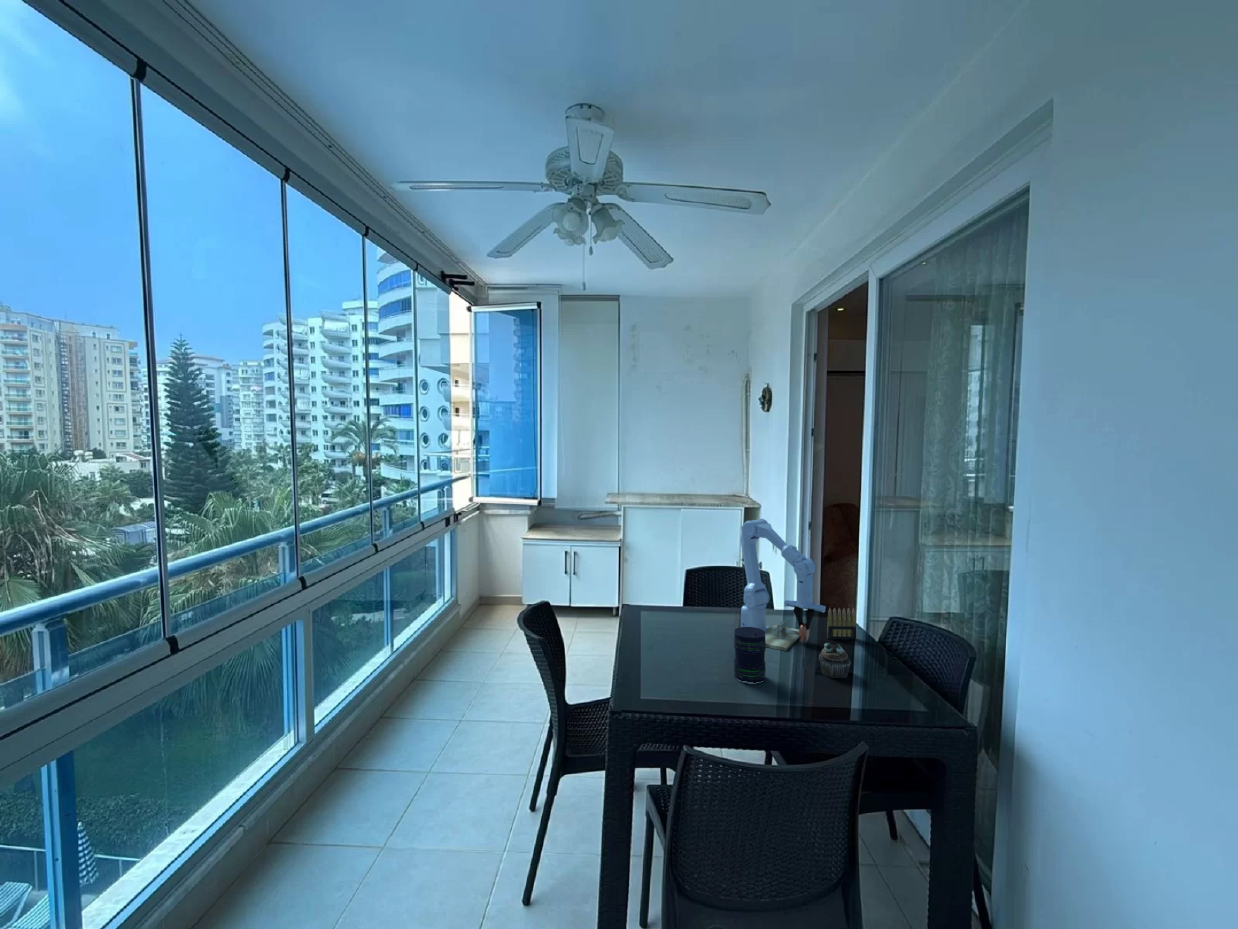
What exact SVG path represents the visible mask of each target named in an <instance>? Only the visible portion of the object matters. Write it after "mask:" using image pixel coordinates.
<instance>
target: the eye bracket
mask: <svg viewBox="0 0 1238 929" xmlns="http://www.w3.org/2000/svg"><path fill="white" fill-rule="evenodd" d="M775 627H777V631H775ZM783 629H788V630H794V631H799V628H798V629H797V628H792V627H787V621H786V620H781V621H779V623H778V624H772V625H771V626H769V628H768V629H767V630H766V631H765V633H766V634H765V640H766V645H765V647H766V648H769V649H774V650H779V651H784V652H787V651H788V650H789V649H790V648H791V646H792V645H793V644H794V643H796V641H797V640H798V639H799V635H794V634H789V633H784V632H783Z"/></svg>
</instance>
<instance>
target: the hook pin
mask: <svg viewBox="0 0 1238 929" xmlns="http://www.w3.org/2000/svg"><path fill="white" fill-rule="evenodd" d="M806 622H807V621H803V622H801V624H800V628H799V627H798V630H799V631H794V630H788V629H783V632H784V633H789V634H794V635H799V638H798V639H799V642H805V643H807V642H808V641H809V636H810V628H811V627H810V628H809V629H806ZM775 631H777V627H775Z"/></svg>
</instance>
